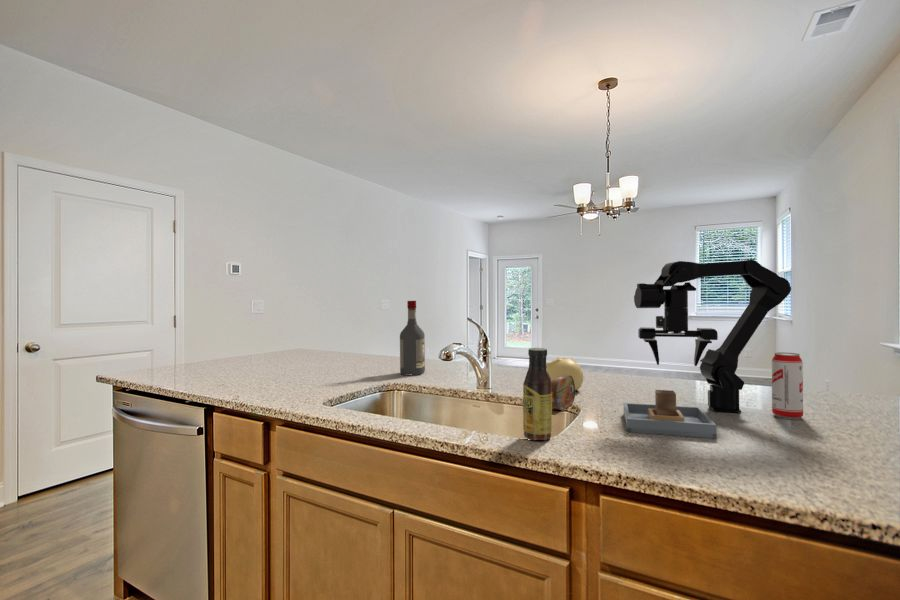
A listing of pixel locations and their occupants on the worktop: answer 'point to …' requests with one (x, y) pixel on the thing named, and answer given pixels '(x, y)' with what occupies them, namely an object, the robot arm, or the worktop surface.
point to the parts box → (669, 421)
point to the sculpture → (565, 370)
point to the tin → (562, 392)
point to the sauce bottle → (537, 397)
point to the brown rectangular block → (665, 402)
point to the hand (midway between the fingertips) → (676, 365)
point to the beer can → (787, 385)
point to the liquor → (412, 345)
